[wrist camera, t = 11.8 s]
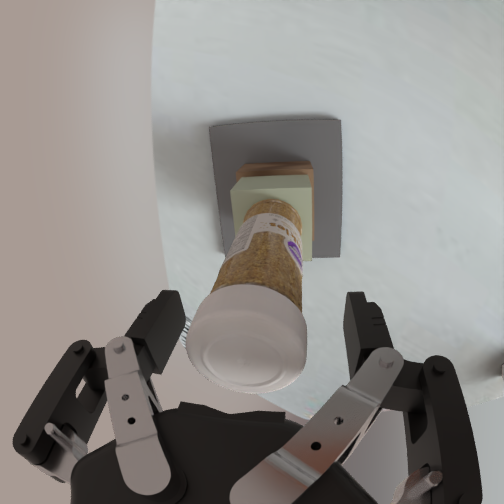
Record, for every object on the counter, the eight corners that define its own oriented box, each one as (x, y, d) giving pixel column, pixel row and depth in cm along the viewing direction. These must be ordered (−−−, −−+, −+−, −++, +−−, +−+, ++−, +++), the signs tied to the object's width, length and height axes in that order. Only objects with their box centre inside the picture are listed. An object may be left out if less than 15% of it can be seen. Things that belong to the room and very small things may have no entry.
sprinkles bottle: (314, 226, 21) (333, 367, 9) (272, 262, 23) (247, 408, 11) (271, 184, 20) (236, 291, 8) (230, 224, 22) (160, 352, 10)
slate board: (339, 119, 26) (340, 119, 26) (338, 253, 34) (339, 257, 33) (211, 126, 29) (208, 126, 28) (227, 255, 36) (225, 258, 35)
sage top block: (308, 174, 24) (311, 187, 20) (309, 236, 27) (312, 260, 22) (241, 177, 25) (230, 190, 21) (247, 237, 28) (238, 261, 23)
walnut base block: (310, 161, 28) (313, 169, 24) (311, 222, 31) (314, 240, 27) (244, 163, 29) (235, 172, 25) (250, 223, 32) (243, 242, 28)
